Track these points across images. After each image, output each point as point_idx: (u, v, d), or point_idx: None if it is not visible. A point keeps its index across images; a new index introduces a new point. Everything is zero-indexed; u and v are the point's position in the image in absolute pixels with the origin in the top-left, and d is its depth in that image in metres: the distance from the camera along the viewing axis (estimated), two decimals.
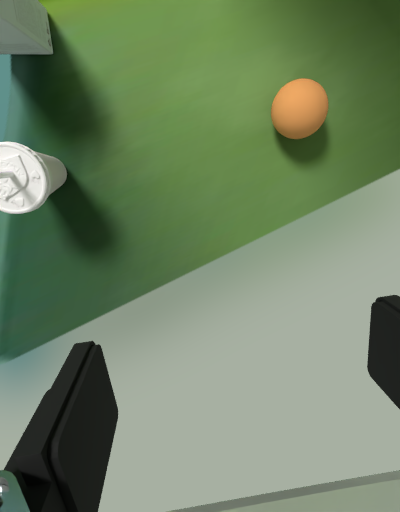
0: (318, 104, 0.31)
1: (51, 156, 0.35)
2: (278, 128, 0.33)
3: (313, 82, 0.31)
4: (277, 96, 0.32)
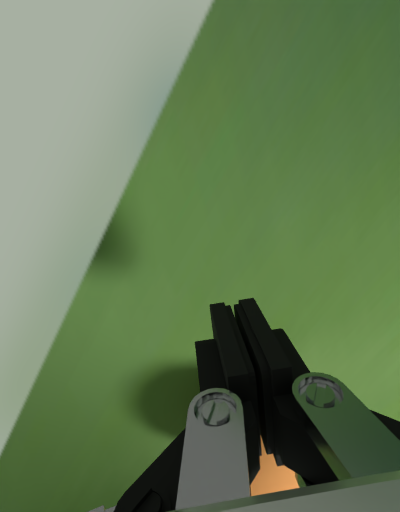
0: None
1: None
2: None
3: None
4: None
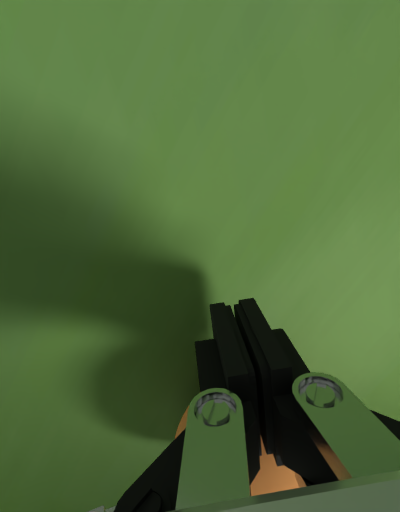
0: None
1: None
2: None
3: None
4: None
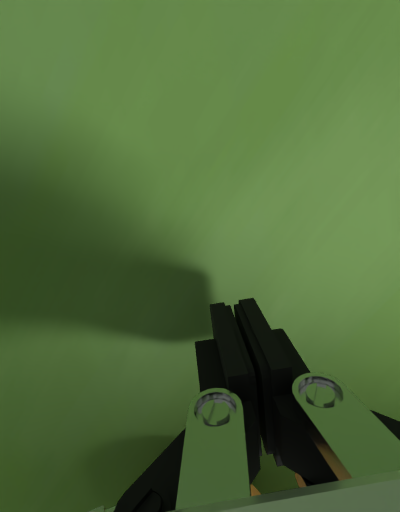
0: None
1: None
2: None
3: None
4: None
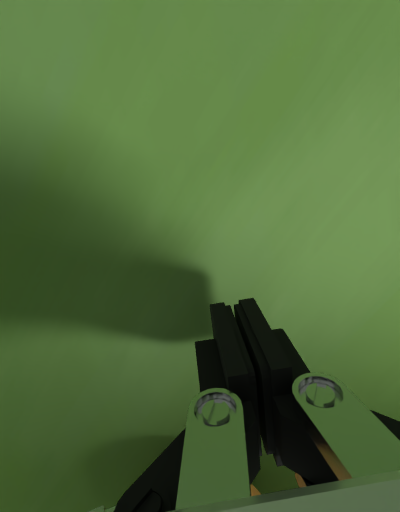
0: None
1: None
2: None
3: None
4: None
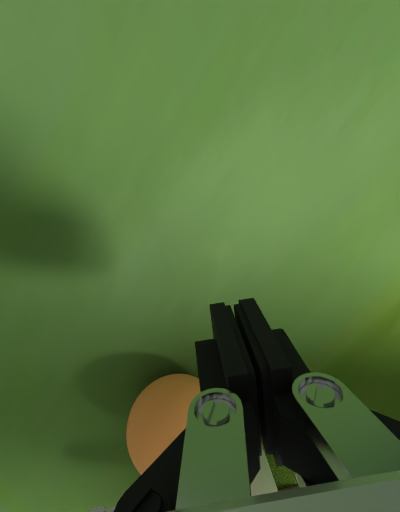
0: (169, 375, 0.19)
1: None
2: None
3: (187, 398, 0.16)
4: None
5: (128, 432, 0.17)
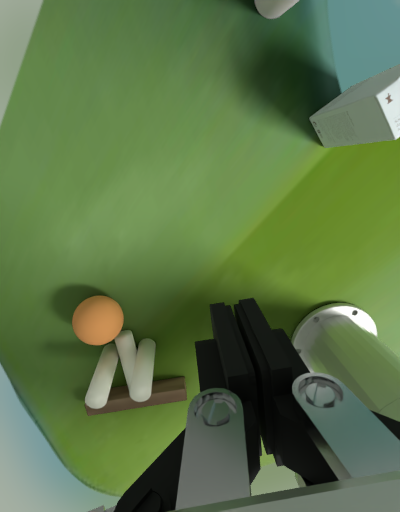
0: None
1: (277, 15, 0.31)
2: None
3: (99, 301, 0.36)
4: (122, 318, 0.37)
5: None
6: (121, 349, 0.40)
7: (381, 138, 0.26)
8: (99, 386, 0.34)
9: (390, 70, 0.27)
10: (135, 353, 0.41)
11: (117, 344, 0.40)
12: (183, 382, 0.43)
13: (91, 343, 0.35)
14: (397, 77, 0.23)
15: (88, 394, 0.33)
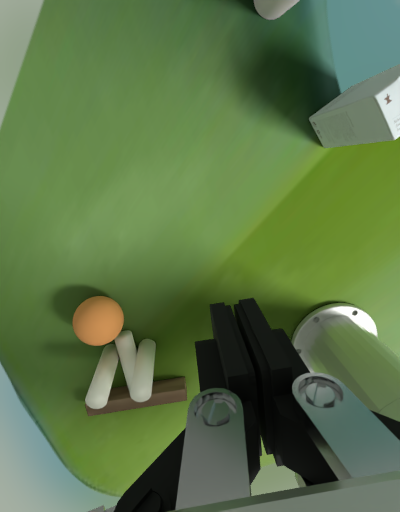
0: None
1: (277, 16, 0.31)
2: None
3: (99, 302, 0.36)
4: (122, 318, 0.37)
5: (73, 318, 0.36)
6: (121, 350, 0.40)
7: (380, 138, 0.26)
8: (100, 386, 0.34)
9: (389, 70, 0.27)
10: (135, 354, 0.41)
11: (117, 344, 0.40)
12: (183, 382, 0.43)
13: (91, 343, 0.36)
14: (396, 77, 0.23)
15: (88, 394, 0.33)
